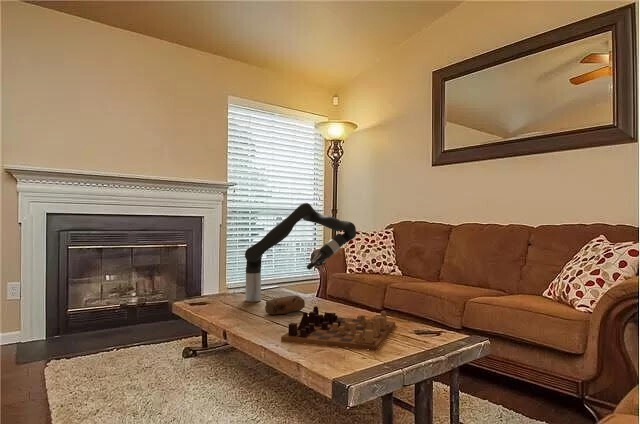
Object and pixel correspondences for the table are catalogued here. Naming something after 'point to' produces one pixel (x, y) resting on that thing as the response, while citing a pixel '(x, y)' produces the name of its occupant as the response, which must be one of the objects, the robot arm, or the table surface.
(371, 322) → the gameboard
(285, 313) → the mat
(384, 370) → the table surface
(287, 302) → the block
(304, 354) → the table surface
